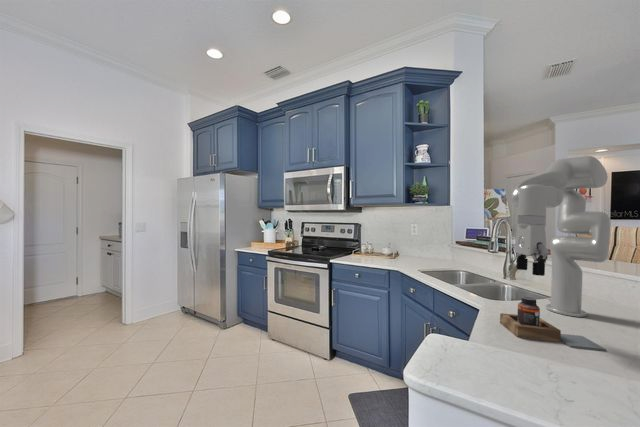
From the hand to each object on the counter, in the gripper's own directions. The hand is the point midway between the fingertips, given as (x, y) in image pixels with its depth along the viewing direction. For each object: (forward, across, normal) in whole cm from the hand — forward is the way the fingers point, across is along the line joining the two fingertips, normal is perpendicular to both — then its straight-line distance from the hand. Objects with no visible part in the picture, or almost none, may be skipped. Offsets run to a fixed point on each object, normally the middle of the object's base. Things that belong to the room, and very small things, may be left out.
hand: (529, 272), depth 92 cm
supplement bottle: (+20, 0, 0) cm, 20 cm away
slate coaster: (+20, +5, +11) cm, 23 cm away
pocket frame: (+20, 0, 0) cm, 20 cm away
